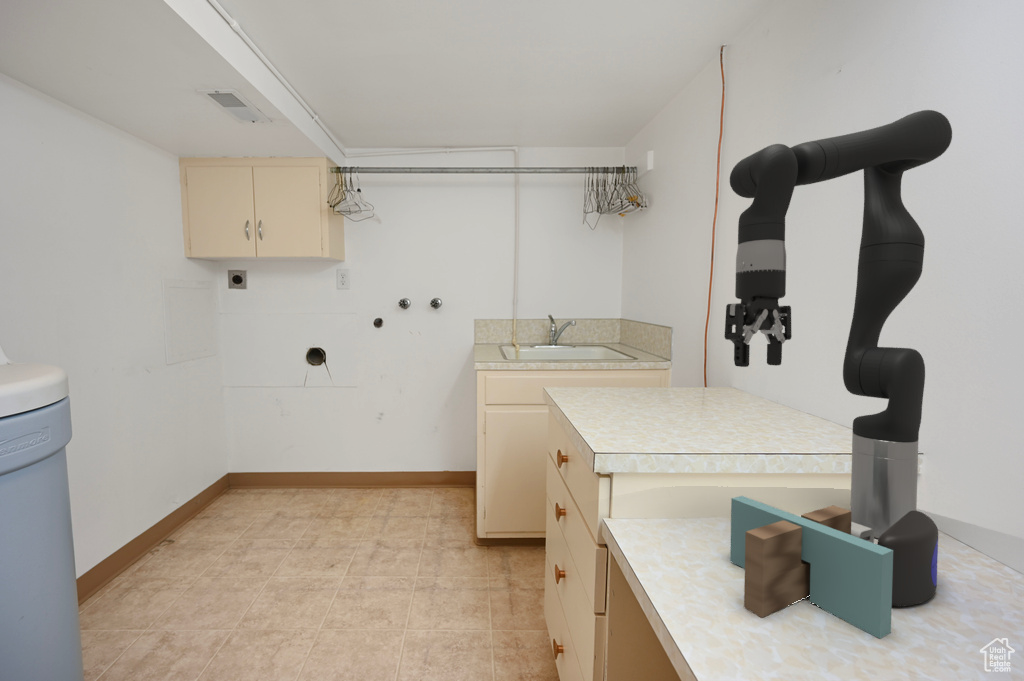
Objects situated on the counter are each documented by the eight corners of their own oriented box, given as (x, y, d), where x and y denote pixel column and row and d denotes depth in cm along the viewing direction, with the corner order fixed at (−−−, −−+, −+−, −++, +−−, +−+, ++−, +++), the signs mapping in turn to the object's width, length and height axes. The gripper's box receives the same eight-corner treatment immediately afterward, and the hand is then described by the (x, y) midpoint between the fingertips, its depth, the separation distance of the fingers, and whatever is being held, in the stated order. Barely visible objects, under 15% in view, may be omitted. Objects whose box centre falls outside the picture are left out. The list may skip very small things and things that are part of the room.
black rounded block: (918, 621, 57) (920, 547, 57) (872, 604, 61) (874, 533, 61) (948, 579, 67) (950, 515, 67) (907, 566, 71) (909, 506, 71)
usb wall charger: (859, 557, 74) (859, 532, 74) (815, 539, 80) (815, 516, 80) (873, 552, 75) (874, 528, 75) (829, 535, 82) (829, 512, 82)
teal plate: (740, 558, 73) (742, 495, 73) (890, 632, 55) (893, 550, 55) (730, 561, 72) (731, 498, 72) (880, 638, 54) (882, 554, 54)
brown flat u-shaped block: (831, 571, 69) (833, 505, 69) (849, 579, 67) (851, 511, 67) (744, 607, 60) (745, 531, 60) (762, 618, 58) (763, 539, 58)
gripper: (753, 264, 71) (751, 369, 72) (808, 270, 78) (805, 366, 78) (712, 270, 78) (710, 365, 78) (766, 275, 85) (764, 363, 85)
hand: (758, 365), depth 78 cm, fingers open, 8 cm apart
